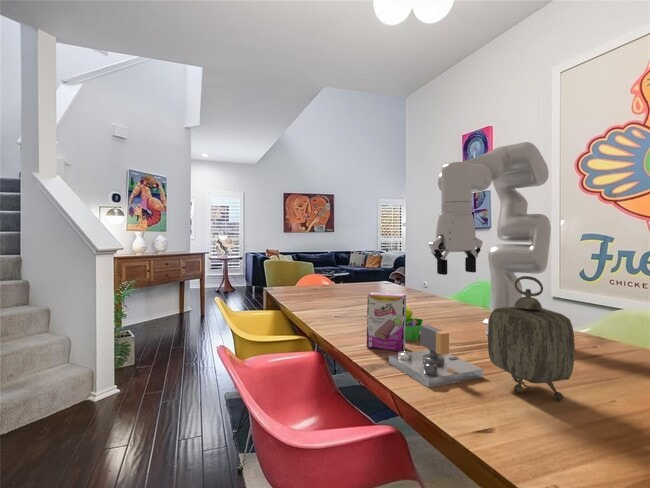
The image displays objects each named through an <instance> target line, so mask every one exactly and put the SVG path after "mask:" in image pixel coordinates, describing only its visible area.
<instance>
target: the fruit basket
mask: <svg viewBox="0 0 650 488" xmlns="http://www.w3.org/2000/svg"><path fill="white" fill-rule="evenodd" d="M413 314H414V312H413V310H411V309H410V307H407V306H406V325H405V341H415V342H417V341H419V338H420V326H422V325H423V323H424V322H423V321H424V319H422V318H414V317H412V316H413Z"/></svg>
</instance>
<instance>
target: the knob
mask: <svg viewBox="0 0 650 488" xmlns="http://www.w3.org/2000/svg"><path fill="white" fill-rule="evenodd" d="M419 338H420V339H419V342H420V343H419V345H420V346H423V347H424V348H427V350H430V352H429V354H426V355H423V361H424V362H432V363H435V364H437V365H439V364H443V363H444V361H445V359H444V357H442V356H440V355H445V354H450V333H449V332H448V331H445V330H442V329H439V328H437V327H434V326H432V325H429V324H422V326H420V334H419ZM438 354H439V355H438Z"/></svg>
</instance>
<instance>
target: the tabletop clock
mask: <svg viewBox="0 0 650 488" xmlns="http://www.w3.org/2000/svg"><path fill="white" fill-rule="evenodd" d="M517 278H518V279H517V280H516V281H515V288H516V290H517V291H518V292H519V293H521V294H522V297H521V298H519V299H518V300H517V301H516V303H515V305H514V306H516V307H506V308H497V309H494V311H493V312H492V313H491V315H490V314H489V318H488V319H489V325H487V329H488V335H487V349H488V357H489V361H490V362H491V363H492V364H493V365H494V366H496V367H497V368H500V369H501V370H503V371H505V372H506V373H509V374H510V375H511V378H512V379H513V380H518V383H517V384H514V390H515V392H517V393H522V392H523V390H524V388H523V386H522V382H523V381H525V382H528V383H532V384H546V385H548V386H549V388H550V389H551V390H552V392H553V398H554V399H555V400H557V401H562V400H563V399H564V395H563V393H562V392H560V391H557V389H556V387H555V385H554V383H553V382H560V381H567V380H570V378H571V376H572V375H573V370H574V365H575V357H576V346H575V345H576V344H575V343H576V342H575V333H574V328H573V324H572V321H571V319H570V318H569V317H567V316H565V315H564V314H562V313H561V312H560V313H559V312H557V311H554V310H551V309H546V308H543V306H542V304H541V302H540V300H538V299H537V298H535V297H537V296H540V295H541V294H542V293H543V292H544V286H543V283H542V282H541V281H540V280H539V279H537V278H536V277H534V276H528V275H522V276H519V277H517ZM522 280H530V281H534V282H535V283H537V284H538V285H539V287H540V290H539V291H538V292H534V293H532V290H531V289H529V288H526V289H525V291H523V290H522V291H521V290H520V289H518V287H517V283H518V281H520V282H521V281H522Z"/></svg>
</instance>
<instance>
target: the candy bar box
mask: <svg viewBox="0 0 650 488" xmlns="http://www.w3.org/2000/svg"><path fill="white" fill-rule="evenodd" d="M406 307H407V294H403V293H402V294H401V293H388V292H376V291H375V292H373V291H371V292H370V293H368V294H367V313H366V314H367V316H366V321H367V323H366V348H367V349H377V350H384V351H390V352H391V351H393V352H400V351H405V348H406V340H405V325H406Z"/></svg>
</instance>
